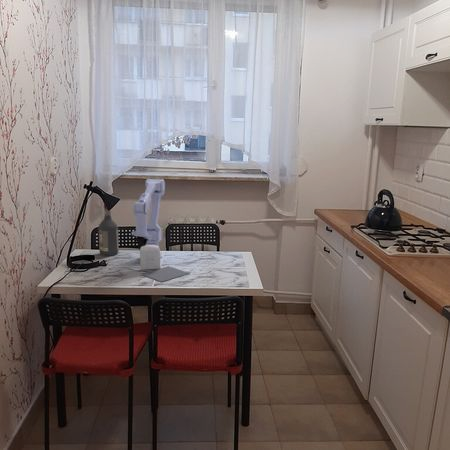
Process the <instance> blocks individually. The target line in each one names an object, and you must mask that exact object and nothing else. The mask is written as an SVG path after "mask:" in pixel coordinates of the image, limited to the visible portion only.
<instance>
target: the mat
mask: <svg viewBox="0 0 450 450" xmlns="http://www.w3.org/2000/svg"><path fill="white" fill-rule="evenodd" d="M140 275H141V276H144V277H146V278H149V279H152V280H154V281H157V282H159V283H164V282H167V281H170V280H173V279H177V278H180V277H183V276H186V275H190V272H188V271H184V270H182V269H178V268H176V267H173V266H170V265H167V266H164V267H161V268H160V269H152V270H150V271H145V272H143V273H140Z"/></svg>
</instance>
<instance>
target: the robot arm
mask: <svg viewBox="0 0 450 450" xmlns="http://www.w3.org/2000/svg"><path fill="white" fill-rule="evenodd" d="M165 190H166V181H165V180H164V179H158V178H157V179H155V178H146V180H145V190H144V193H142V194H141V195H140V197H139V199H138V201H136V202H134V204H133V208H132V209H133V214H134V217H135V230H132V231H131V236H134V239H135V241H136V244H137V246H138V250H139V251H140V249H141V247H142V246H146V245H156V246H159V247H160V242H161V241H162V238H163V230H162V228H161V227H160V226H159V223H158V222H159V216H160V209H161V208H160V206H161V200H162V197H163V196H164V195H165ZM150 204H151V205H150ZM149 207H150V213H149V219H148V212H149ZM161 258H163V255H160V259H161Z"/></svg>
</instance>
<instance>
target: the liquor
mask: <svg viewBox="0 0 450 450" xmlns="http://www.w3.org/2000/svg"><path fill="white" fill-rule="evenodd" d="M103 208H104V209H103V211H104V217H103V219H102V221H101V222H100V223H99V225H98V243H99V244H98V247H99V254H100V255H102V256H104V257H111V256H116V254H117V255H118V254H119V226H118V224H117V223H116V222H115V221H114V220H113V219H112V212H111V210H112V209H111V210H110V211H108V210H107V208H106V206H105V204H104V203H103Z"/></svg>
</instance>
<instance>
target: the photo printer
mask: <svg viewBox="0 0 450 450" xmlns="http://www.w3.org/2000/svg"><path fill="white" fill-rule="evenodd" d="M160 256H161V250H160V245H159V246H156V245H146V246H142V247H141V249H140V250H139V260H140V261H139V264H140V270H156V269H160V268H162V267H161V258H160Z"/></svg>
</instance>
